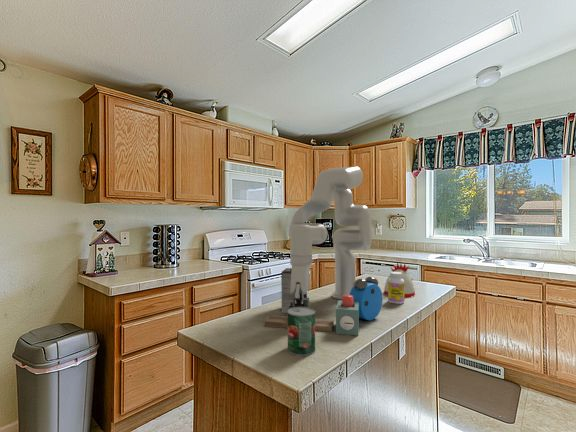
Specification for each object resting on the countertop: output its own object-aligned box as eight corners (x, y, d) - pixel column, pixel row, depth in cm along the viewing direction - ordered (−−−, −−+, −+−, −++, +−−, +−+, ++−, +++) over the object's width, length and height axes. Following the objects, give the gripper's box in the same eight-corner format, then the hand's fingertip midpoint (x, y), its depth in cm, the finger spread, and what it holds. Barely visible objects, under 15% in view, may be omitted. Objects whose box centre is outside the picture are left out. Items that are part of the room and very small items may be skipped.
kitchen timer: (415, 298, 140) (415, 265, 140) (384, 296, 145) (384, 264, 144) (413, 291, 154) (413, 261, 154) (384, 289, 158) (384, 260, 158)
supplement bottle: (388, 303, 132) (388, 273, 132) (387, 299, 138) (387, 271, 138) (405, 304, 130) (405, 274, 130) (403, 300, 137) (403, 271, 137)
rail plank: (270, 319, 113) (270, 315, 113) (333, 324, 107) (333, 319, 107) (264, 325, 106) (264, 321, 106) (331, 331, 101) (331, 326, 101)
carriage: (294, 315, 111) (293, 295, 111) (313, 316, 110) (313, 296, 110) (288, 323, 103) (288, 301, 103) (309, 324, 102) (309, 302, 102)
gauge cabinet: (338, 323, 108) (338, 300, 108) (358, 324, 107) (358, 301, 107) (335, 334, 98) (335, 309, 98) (358, 336, 97) (358, 310, 97)
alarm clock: (369, 313, 120) (369, 274, 120) (383, 317, 115) (383, 276, 115) (347, 320, 111) (347, 278, 111) (361, 325, 106) (361, 281, 106)
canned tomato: (321, 349, 87) (321, 310, 87) (301, 358, 82) (301, 317, 82) (301, 341, 93) (300, 305, 93) (281, 349, 87) (281, 310, 87)
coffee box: (286, 306, 129) (285, 267, 129) (301, 307, 128) (301, 268, 128) (281, 313, 120) (281, 271, 120) (297, 314, 119) (297, 272, 119)
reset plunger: (342, 309, 105) (342, 294, 105) (353, 309, 104) (353, 295, 104) (341, 312, 101) (341, 297, 101) (353, 313, 101) (353, 297, 101)
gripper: (295, 256, 116) (296, 305, 116) (284, 263, 99) (284, 320, 99) (315, 257, 114) (315, 306, 114) (307, 264, 97) (307, 322, 97)
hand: (301, 312), depth 106 cm, fingers closed on carriage, 4 cm apart
